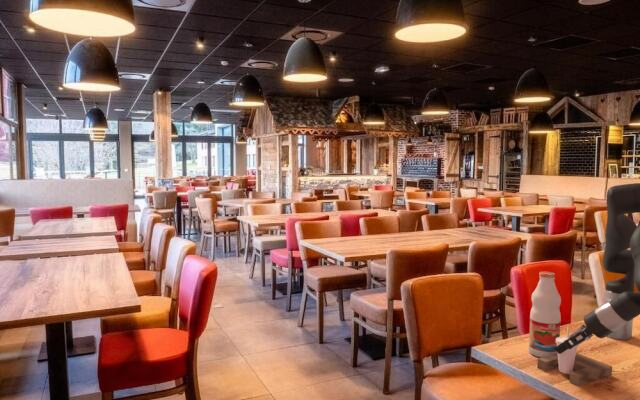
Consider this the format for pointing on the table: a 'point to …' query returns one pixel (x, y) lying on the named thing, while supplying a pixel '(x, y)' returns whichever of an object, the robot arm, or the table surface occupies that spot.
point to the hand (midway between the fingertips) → (560, 347)
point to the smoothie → (566, 355)
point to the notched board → (579, 368)
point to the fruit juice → (544, 317)
